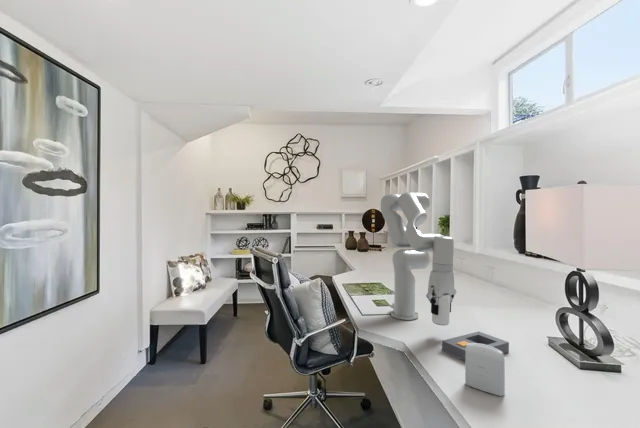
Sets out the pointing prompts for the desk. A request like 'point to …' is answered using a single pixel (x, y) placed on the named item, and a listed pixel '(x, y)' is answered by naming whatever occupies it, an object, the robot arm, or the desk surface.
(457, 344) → the grey socket block
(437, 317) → the can
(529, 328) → the desk surface
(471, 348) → the photo printer
